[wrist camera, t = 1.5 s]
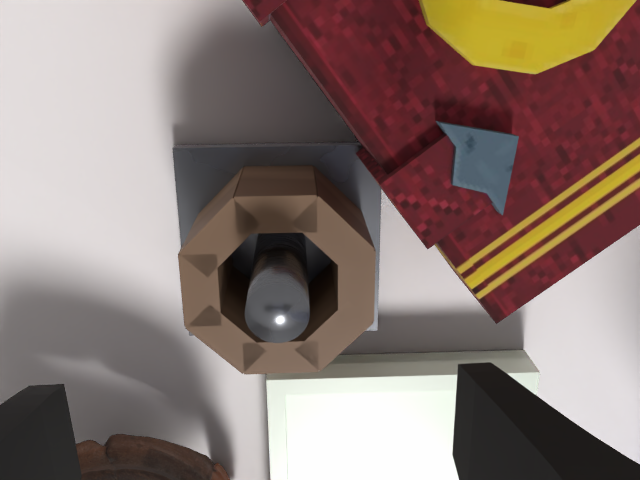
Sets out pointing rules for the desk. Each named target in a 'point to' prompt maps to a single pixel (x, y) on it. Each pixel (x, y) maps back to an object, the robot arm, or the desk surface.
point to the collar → (232, 286)
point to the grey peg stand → (276, 248)
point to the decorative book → (487, 124)
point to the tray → (375, 415)
